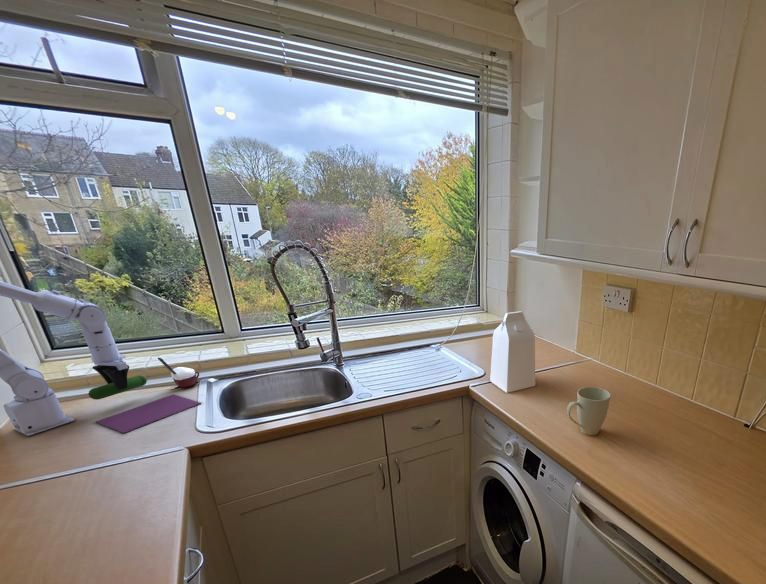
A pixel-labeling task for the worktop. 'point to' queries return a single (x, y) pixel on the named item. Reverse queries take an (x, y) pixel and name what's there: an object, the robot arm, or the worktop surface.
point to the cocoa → (182, 375)
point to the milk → (513, 354)
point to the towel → (147, 413)
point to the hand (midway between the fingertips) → (119, 387)
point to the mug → (590, 409)
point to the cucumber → (112, 390)
